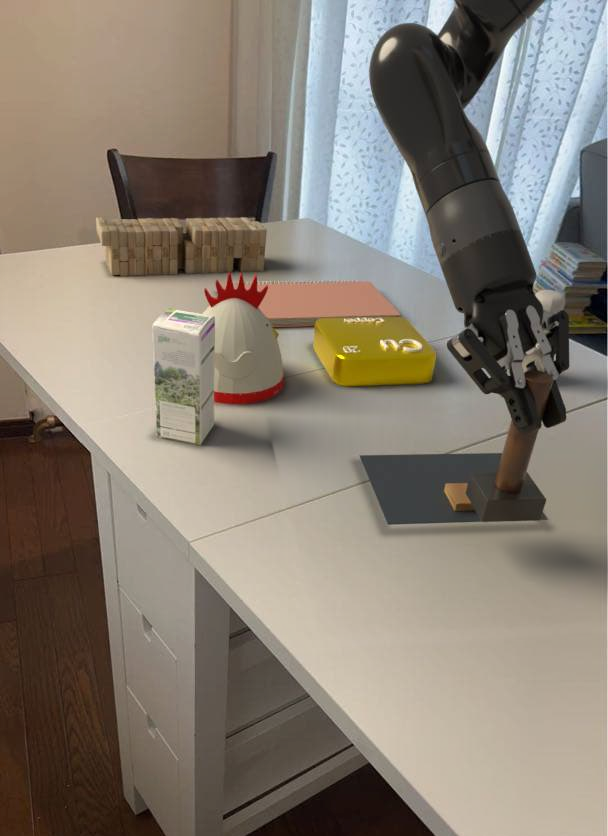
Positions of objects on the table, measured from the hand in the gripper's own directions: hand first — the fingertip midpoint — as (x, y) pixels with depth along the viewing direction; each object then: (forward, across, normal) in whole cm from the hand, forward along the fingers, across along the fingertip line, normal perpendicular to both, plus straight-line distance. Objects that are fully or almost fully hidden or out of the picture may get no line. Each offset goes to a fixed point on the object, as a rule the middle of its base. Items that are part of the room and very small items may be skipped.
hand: (544, 427), depth 71 cm
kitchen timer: (-23, -4, +46) cm, 51 cm away
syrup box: (-15, -16, +39) cm, 45 cm away
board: (+2, +4, +20) cm, 21 cm away
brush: (+6, 0, +8) cm, 10 cm away
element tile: (-20, +17, +44) cm, 51 cm away
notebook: (-36, +21, +60) cm, 73 cm away
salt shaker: (-11, +36, +34) cm, 51 cm away
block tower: (-54, +10, +78) cm, 95 cm away
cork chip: (+4, +4, +17) cm, 18 cm away
